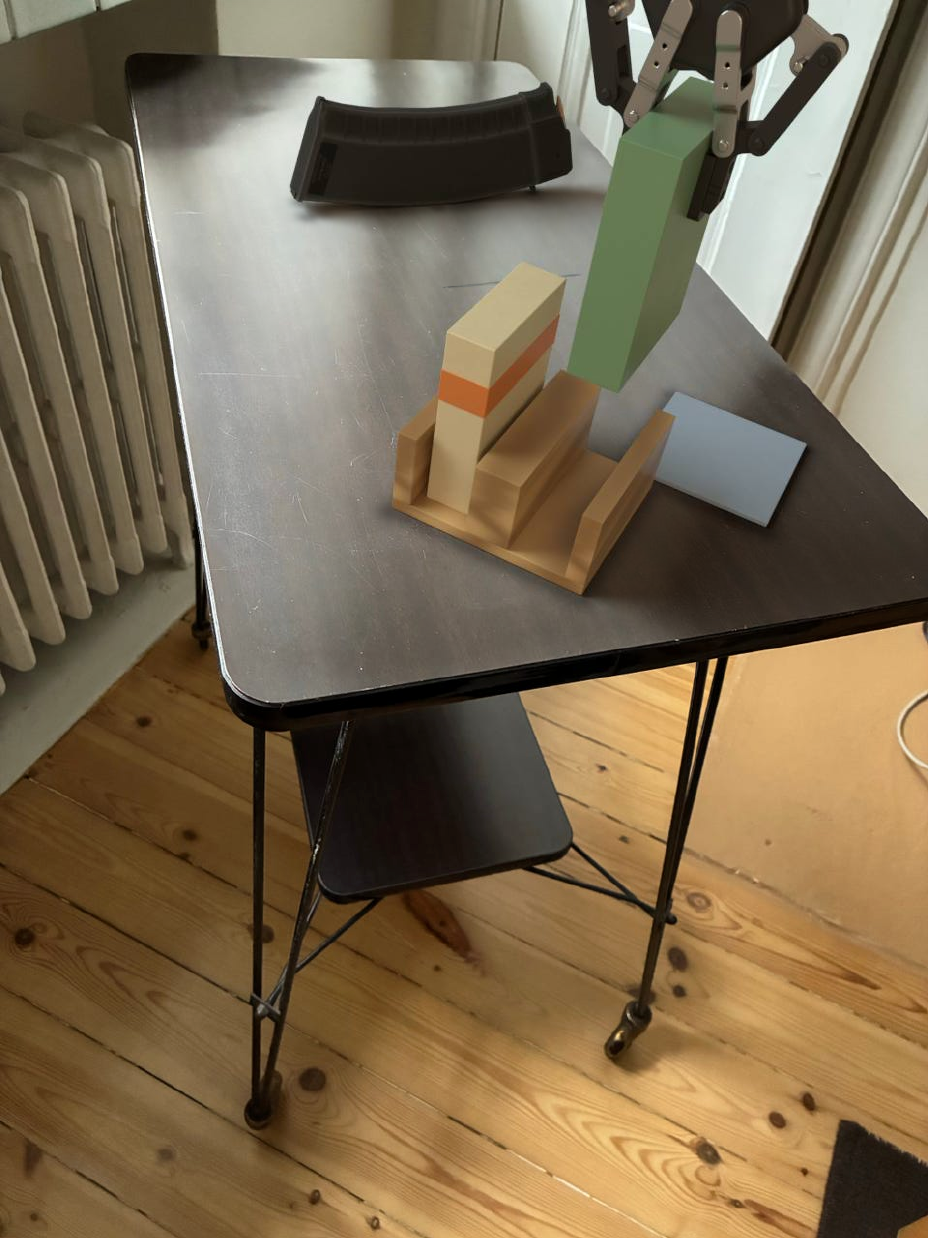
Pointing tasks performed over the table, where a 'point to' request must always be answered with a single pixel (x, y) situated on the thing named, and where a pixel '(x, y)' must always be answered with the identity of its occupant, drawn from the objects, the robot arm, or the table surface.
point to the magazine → (431, 151)
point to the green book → (644, 238)
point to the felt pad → (727, 459)
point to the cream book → (491, 375)
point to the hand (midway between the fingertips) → (664, 201)
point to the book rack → (539, 485)
